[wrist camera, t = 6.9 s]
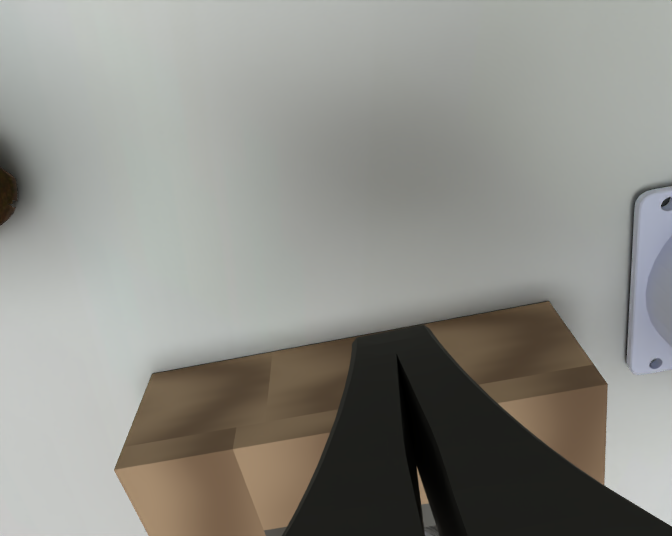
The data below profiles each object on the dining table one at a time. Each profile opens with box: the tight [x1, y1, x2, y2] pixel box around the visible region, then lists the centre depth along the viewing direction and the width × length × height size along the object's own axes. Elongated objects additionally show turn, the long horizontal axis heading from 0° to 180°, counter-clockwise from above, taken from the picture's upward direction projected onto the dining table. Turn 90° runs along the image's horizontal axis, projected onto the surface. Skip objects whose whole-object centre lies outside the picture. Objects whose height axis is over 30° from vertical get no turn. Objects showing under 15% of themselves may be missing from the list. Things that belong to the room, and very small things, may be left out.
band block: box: [114, 301, 608, 536], centre depth 24 cm, size 16×16×5 cm
